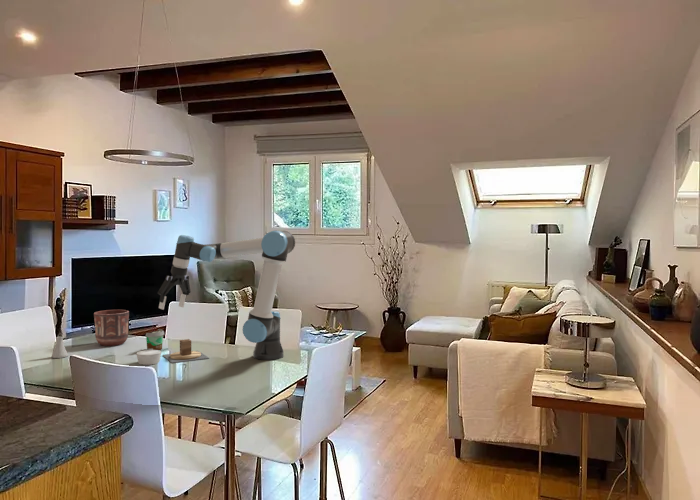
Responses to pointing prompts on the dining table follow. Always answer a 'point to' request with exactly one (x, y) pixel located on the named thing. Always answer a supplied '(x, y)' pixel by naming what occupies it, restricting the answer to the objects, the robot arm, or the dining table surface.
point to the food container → (155, 340)
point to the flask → (59, 349)
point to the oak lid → (185, 351)
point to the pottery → (111, 327)
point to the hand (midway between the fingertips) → (171, 307)
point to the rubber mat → (185, 360)
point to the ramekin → (148, 357)
